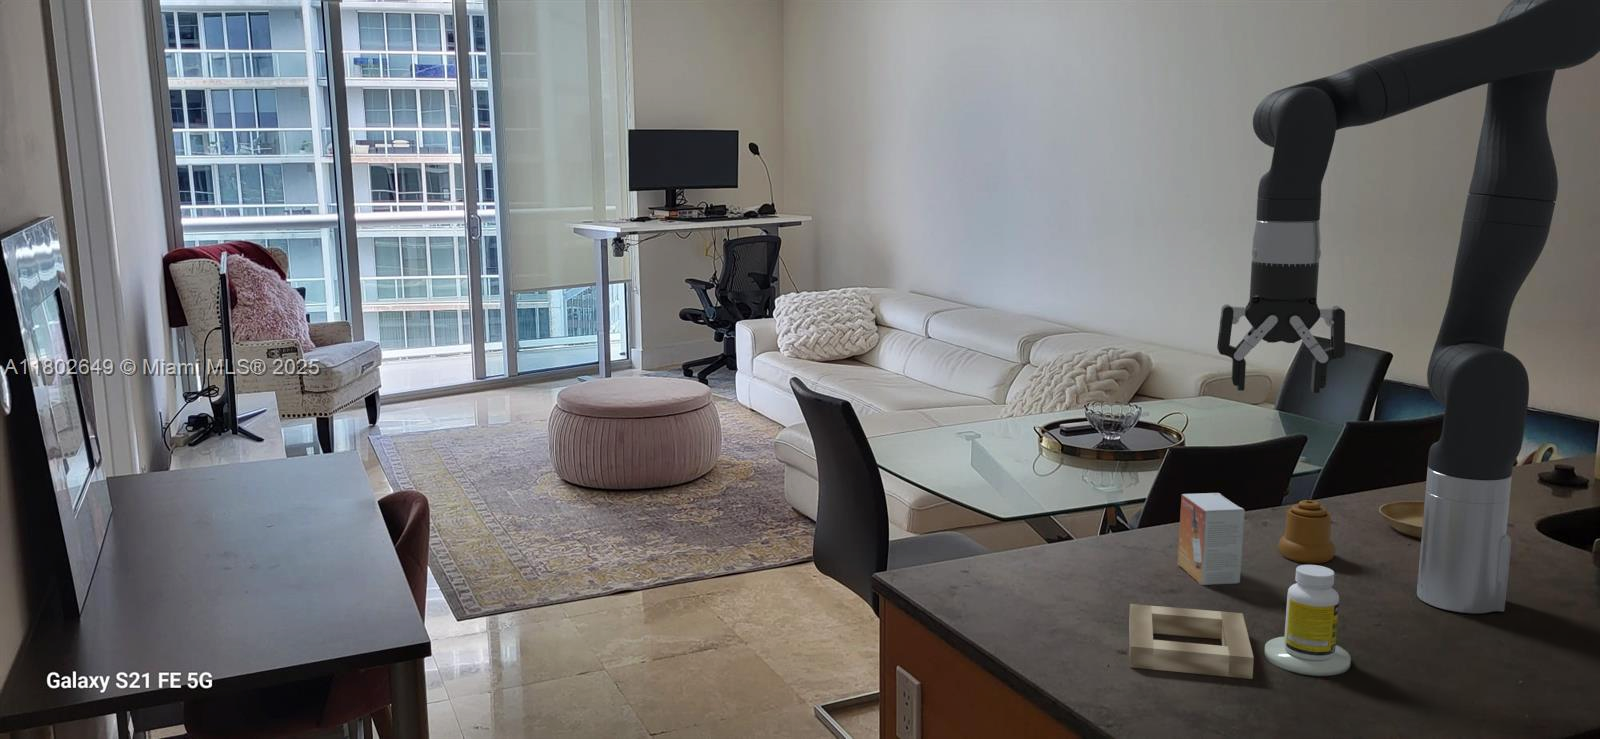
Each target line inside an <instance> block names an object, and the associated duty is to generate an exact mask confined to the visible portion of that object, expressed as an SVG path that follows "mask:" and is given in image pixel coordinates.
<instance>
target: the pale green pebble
mask: <svg viewBox="0 0 1600 739" xmlns="http://www.w3.org/2000/svg"><path fill="white" fill-rule="evenodd" d="M1264 656H1265V658H1266V660H1267V661H1268V662H1269V663H1271V664H1273V665H1274V666H1276V667H1278V668H1281V669H1284V670H1286V671H1289V672H1292V673H1296V674H1300V675H1306V676H1312V677H1313V676H1314V677H1330V676H1336V675H1341V674H1344V673H1345V672H1347V671H1349V669H1350V667H1351V660H1352V657H1351V654H1349V652H1348V651H1347V650H1345V649H1344V648H1342V647H1341V646H1339V645H1337V644H1336V647H1335V654H1334V656H1333V657H1332V658H1330V659H1327V660H1307V659H1302V658H1298V657H1296V656H1294V655H1292V654H1290V653H1288V652H1287V651H1286V650H1285V648H1284V636H1278V637H1275V638H1272V639H1270V640H1268V641H1267V642H1266V643H1265V645H1264Z"/></svg>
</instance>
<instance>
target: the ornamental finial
mask: <svg viewBox="0 0 1600 739" xmlns="http://www.w3.org/2000/svg"><path fill="white" fill-rule="evenodd" d="M1331 522H1332V514H1331V513H1330V512H1329V511H1327V509H1326V507H1324V506H1322V505H1321V503H1319V502H1318V501H1316V500H1308V499H1303V500H1300V501H1299V502H1298V503H1295V504H1293V505H1292V506H1291V507H1290V508H1288V509H1287V510H1286V520H1285V529H1284V535H1283V536H1281V538H1280V539H1279V541H1278V546H1277V547H1278V550H1279V552H1280V554H1281V555H1282V556H1283V557H1284V558H1286V559H1287V560H1291V561H1295V562H1297V563H1301V564H1303V563H1304V564H1323V563H1327V562H1330V561H1331V560H1332V559H1333V558H1334V556H1335V554H1336V547H1335V543H1333V541H1332V540H1331V529H1332V528H1331V527H1332V526H1331Z"/></svg>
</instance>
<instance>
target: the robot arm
mask: <svg viewBox="0 0 1600 739" xmlns="http://www.w3.org/2000/svg"><path fill="white" fill-rule="evenodd" d="M1598 53H1600V0H1511V2H1509V3H1508V4H1507V5H1506V6H1505V7H1504V8H1503V10H1502V12H1500V14H1499V16H1498V18H1497V21H1496V22H1495V24H1493V25H1489V26H1488V27H1487V26H1486V27H1484V28H1480V29H1478V30H1475V31H1471V32H1468V33H1464V34H1461V35H1457V36H1453V37H1449V38H1445V39H1442V40H1441V39H1440V40H1436V41H1433V42H1432V41H1431V42H1428V43H1424V44H1420V45H1417V46H1412V47H1410V48H1406V49H1401V50H1398V51H1395V52H1392V53H1389V54H1386V55H1383V56H1380V57H1377V58H1374V59H1372V60H1369V61H1365V62H1362V63H1360V64H1358V65H1354V66H1352V67H1350V68H1348V69H1346V70H1343V71H1341V72H1338V73H1335V74H1333V75H1329V76H1325V77H1320V78H1315V79H1312V80H1309V81H1305V82H1302V83H1298V84H1294V85H1292V86H1287V87H1284V88H1281V89H1279V90H1275V91H1273V92H1272V93H1270V94H1268V95H1266V96H1265V97H1264V98H1263V99H1262V100H1261V102H1259V104H1258V105H1257V106H1256V108H1255V111H1254V113H1253V117H1252V128H1253V131H1254V133H1255V135H1256V137H1257V138H1258V140H1260V141H1261V142H1262V143H1263V144H1264V145H1267V146H1268V147H1271V148H1273V151H1272V152H1273V153H1272V158H1271V159H1272V160H1271V165H1270V168H1269V170H1268V171H1267V172H1266V173H1264V174H1263V175H1262V176H1261V178H1260V179H1259V182H1258V183H1259V184H1258V188H1257V200H1256V202H1257V203H1256V217H1255V219H1256V221H1255V227H1254V232H1253V238H1252V251H1251V265H1250V266H1251V267H1250V270H1251V271H1250V283H1249V284H1250V285H1249V287H1250V288H1249V300H1248V303H1247V305H1246V306H1245V307H1244V306H1231V305H1230V304H1224V305H1223V306H1222V307H1221V312H1220V320H1219V328H1218V337H1217V345H1216V347H1217V351H1218V353H1219V355H1222V356H1225V357H1229V358H1231V360H1232V362H1231V382H1232V384H1233V386H1236V390H1237V391H1240V392H1242V391H1245V388H1246V387H1245V383H1246V369H1247V368H1246V365H1247V361H1246V359H1245V357H1246V356H1247V355H1248V354H1249V353H1250V352H1251V351H1252V350H1253V349H1254V348H1256V346H1257V345H1258V344H1259V343H1260V342H1261V340H1262V341H1265V342H1267V343H1271V344H1273V343H1274V344H1275V343H1279V342H1284V343H1287V344H1296V342H1299V341H1302V342H1303V343H1304V345H1305V346H1306V347H1307V349H1308V350H1309V351H1310V353H1311V354H1312V355H1313V356H1314V360H1313V359H1312V366H1311V378H1310V379H1311V380H1310V392H1311V393H1312V394H1320V391H1321V389H1325V386H1326V385H1327V371H1328V364H1329V362H1330V361H1333V360H1336V359H1341V358H1344V356H1345V354H1346V311H1345V310H1344V309H1343V308H1342V307H1340V306H1338V305H1337V306H1336V305H1335V306H1332V307H1331V308H1320V307H1318V301H1317V300H1318V288H1319V287H1318V286H1319V283H1318V282H1319V268H1320V258H1321V256H1322V255H1321V254H1322V251H1321V230H1320V228H1321V227H1320V225H1321V224H1320V219H1321V208H1322V207H1321V203H1322V184H1323V180H1324V177H1325V175H1326V172H1327V169H1328V164H1329V162H1330V158H1331V154H1332V150H1333V146H1334V142H1335V138H1336V132H1337V131H1339V130H1341V129H1346V128H1351V127H1361V126H1365V125H1366V126H1367V125H1371V124H1374V123H1377V122H1380V121H1383V120H1385V119H1390V118H1392V117H1394V116H1398V115H1401V114H1403V113H1407V112H1408V111H1409V112H1410V111H1411V110H1414V109H1417V108H1420V107H1424V106H1425V105H1428V104H1429V105H1430V104H1431V103H1434V102H1436V101H1439V100H1442V99H1445V98H1448V97H1450V96H1454V95H1456V94H1459V93H1462V92H1465V91H1468V90H1471V89H1474V88H1477V87H1480V86H1483V85H1487V90H1486V101H1485V107H1484V115H1483V120H1482V125H1481V130H1480V135H1479V141H1478V145H1477V151H1476V157H1475V161H1474V162H1475V163H1474V167H1473V168H1474V169H1473V173H1472V177H1471V181H1470V185H1469V190H1468V194H1467V197H1466V198H1467V199H1466V203H1465V208H1464V214H1463V217H1462V224H1461V231H1460V237H1459V243H1458V246H1457V252H1456V257H1455V263H1454V268H1453V273H1452V274H1453V275H1452V281H1451V287H1450V293H1449V297H1448V301H1447V306H1446V309H1445V312H1444V315H1443V317H1442V321H1441V325H1440V329H1439V330H1438V334H1437V337H1436V340H1435V343H1434V345H1433V349H1432V352H1431V354H1430V358H1429V362H1428V366H1427V371H1426V378H1427V379H1426V380H1427V385H1428V389H1429V391H1430V393H1431V395H1432V396H1433V398H1434V399H1435V400H1436V401H1437V402H1438V403H1439V404H1440V405H1441V406H1442V407H1444V414H1443V420H1442V429H1441V435H1440V438H1439V440H1438V441H1435V442H1434V443H1432V444H1431V446H1430V447H1429V452H1428V459H1427V469H1426V470H1427V472H1426V473H1427V474H1426V482H1425V483H1426V485H1425V494H1424V496H1425V497H1424V502H1425V505H1424V516H1423V528H1422V538H1420V539H1421V540H1420V541H1421V542H1420V553H1419V561H1418V562H1419V563H1418V575H1417V586H1416V587H1417V588H1416V595H1417V597H1418V598H1419V600H1421V601H1422V602H1424V603H1426V604H1428V605H1429V606H1432V607H1435V608H1439V609H1442V610H1446V611H1452V612H1457V613H1462V614H1463V613H1465V614H1466V613H1467V614H1488V613H1490V612H1491V613H1492V612H1505V608H1506V607H1505V606H1506V598H1507V597H1506V596H1507V589H1508V588H1507V587H1508V586H1507V585H1508V578H1509V577H1508V576H1509V568H1510V558H1511V547H1512V539H1511V537H1510V536H1509V535H1508V534H1507V528H1508V519H1509V518H1508V517H1509V509H1510V508H1509V507H1510V497H1511V487H1512V476H1513V469H1514V468H1513V467H1514V464H1515V462H1516V460H1517V458H1518V456H1519V455H1520V452H1521V450H1522V445H1523V441H1524V436H1525V434H1524V433H1525V426H1526V420H1527V415H1528V409H1529V408H1528V405H1529V399H1530V380H1529V376H1528V372H1527V369H1526V367H1525V365H1524V363H1522V361H1521V360H1520V359H1519V358H1517V357H1516V355H1514V354H1512V353H1510V352H1508V351H1506V350H1504V349H1505V340H1506V333H1507V329H1508V321H1509V316H1510V313H1511V309H1512V307H1513V303H1514V301H1515V299H1516V296H1517V295H1518V293H1519V291H1520V289H1521V287H1522V286H1523V284H1524V282H1525V280H1526V279H1527V278H1528V276H1529V274H1530V273H1531V271H1532V269H1533V268H1534V266H1535V265H1536V263H1537V261H1538V259H1539V257H1540V256H1541V254H1542V252H1543V250H1544V247H1545V246H1546V244H1547V243H1546V242H1547V241H1548V237H1549V235H1550V234H1549V233H1550V230H1551V225H1552V221H1553V215H1554V211H1555V206H1556V201H1557V197H1558V190H1559V179H1558V178H1559V177H1558V170H1557V167H1556V162H1555V157H1554V153H1553V149H1552V145H1551V141H1550V136H1549V132H1548V125H1547V122H1548V121H1547V117H1548V116H1547V111H1548V106H1549V100H1550V99H1549V98H1550V95H1551V94H1550V93H1551V90H1552V85H1553V81H1554V76H1555V74H1556V71H1559V70H1566V69H1570V68H1573V67H1576V66H1579V65H1582V64H1584V63H1586V62H1588V61H1590V60H1591V59H1593V58H1594V57H1595V56H1596V55H1597V54H1598ZM1242 317H1245V318H1246V320H1247V321H1248V322H1249V324H1250V326H1251V328H1250V329H1249V330H1248V331H1247V333H1245V335H1244V336H1243V338H1242V339H1241V340H1240V342H1238V344H1237V345H1236V346H1233V345H1231V335H1232V328H1233V325H1237V324H1238V323H1239V321H1240V319H1241V318H1242ZM1320 318H1323V320H1324V323H1325V325H1327V326H1328V327H1330V347H1328V348H1324V349H1323V347H1322V346H1321V345H1320V343H1319V342H1318V340H1317V339H1316V338H1315V337H1314V335H1313V334H1312V333H1311V331H1310V330H1311V329H1312V328H1313V327H1314V326H1315V324H1316V323H1317V322H1318V321H1319V320H1320Z"/></svg>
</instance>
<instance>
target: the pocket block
mask: <svg viewBox="0 0 1600 739" xmlns="http://www.w3.org/2000/svg"><path fill="white" fill-rule="evenodd" d="M1128 620H1129V622H1128V624H1129V625H1128V627H1129V629H1128V630H1129V632H1128V633H1129V635H1128V636H1129V638H1128V639H1129V640H1128V641H1129V668H1134V669H1145V670H1154V671H1165V672H1167V671H1168V672H1176V673H1185V674H1187V673H1188V674H1197V675H1207V676H1216V677H1217V676H1218V677H1228V678H1236V679H1237V678H1238V679H1249V680H1253V678H1254V677H1253V676H1254V660H1255V659H1254V657H1255V656H1254V654H1253V649H1252V645H1251V641H1250V637H1249V633H1248V629H1247V625H1246V621H1245V617H1244V614H1243V613H1242V612H1233V611H1232V612H1231V611H1230V612H1229V611H1219V610H1218V611H1217V610H1208V609H1207V610H1206V609H1197V608H1196V609H1195V608H1184V607H1183V608H1181V607H1171V606H1160V605H1159V606H1158V605H1147V604H1137V603H1136V604H1135V603H1130V604H1129V619H1128ZM1154 634H1156V635H1157V634H1160V635H1169V636H1170V635H1171V636H1181V637H1182V636H1183V637H1192V638H1203V639H1204V638H1206V639H1214V640H1215V639H1216V640H1220V642H1221V645H1216V644H1205V643H1193V642H1183V641H1173V640H1172V641H1171V640H1162V639H1161V640H1160V639H1154Z"/></svg>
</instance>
